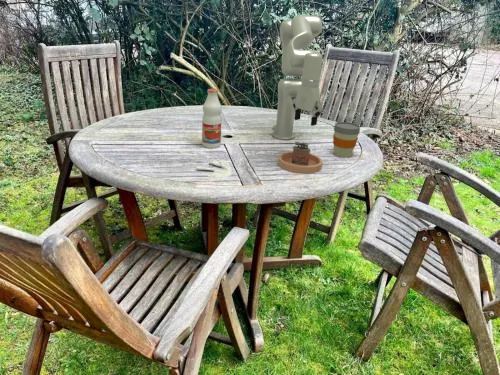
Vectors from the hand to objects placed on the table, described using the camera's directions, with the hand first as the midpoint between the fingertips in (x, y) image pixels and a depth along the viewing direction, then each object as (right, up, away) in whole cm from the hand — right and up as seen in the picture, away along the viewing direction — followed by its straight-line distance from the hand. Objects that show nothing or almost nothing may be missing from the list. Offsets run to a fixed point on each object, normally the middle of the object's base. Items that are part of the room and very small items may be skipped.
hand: (305, 122), depth 180 cm
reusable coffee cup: (+22, -12, +26) cm, 36 cm away
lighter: (-1, -18, +8) cm, 20 cm away
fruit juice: (-44, -8, +25) cm, 51 cm away
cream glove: (-41, -21, -1) cm, 46 cm away
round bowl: (-1, -18, +8) cm, 20 cm away
